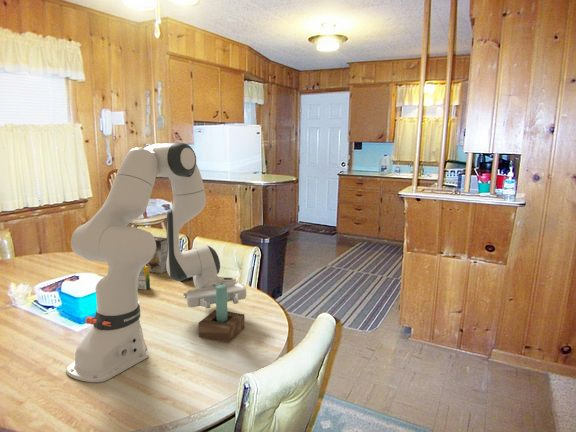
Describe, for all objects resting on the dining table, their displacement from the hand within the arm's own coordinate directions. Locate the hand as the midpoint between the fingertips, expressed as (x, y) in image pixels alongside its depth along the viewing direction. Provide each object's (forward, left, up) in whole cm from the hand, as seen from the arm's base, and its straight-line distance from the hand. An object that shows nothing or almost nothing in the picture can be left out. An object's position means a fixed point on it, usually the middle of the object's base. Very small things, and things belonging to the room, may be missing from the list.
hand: (222, 303), depth 130 cm
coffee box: (+44, +61, -11) cm, 75 cm away
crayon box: (+23, +53, -11) cm, 58 cm away
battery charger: (+39, +41, -11) cm, 57 cm away
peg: (+1, +1, -10) cm, 11 cm away
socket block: (+1, +1, -10) cm, 11 cm away
